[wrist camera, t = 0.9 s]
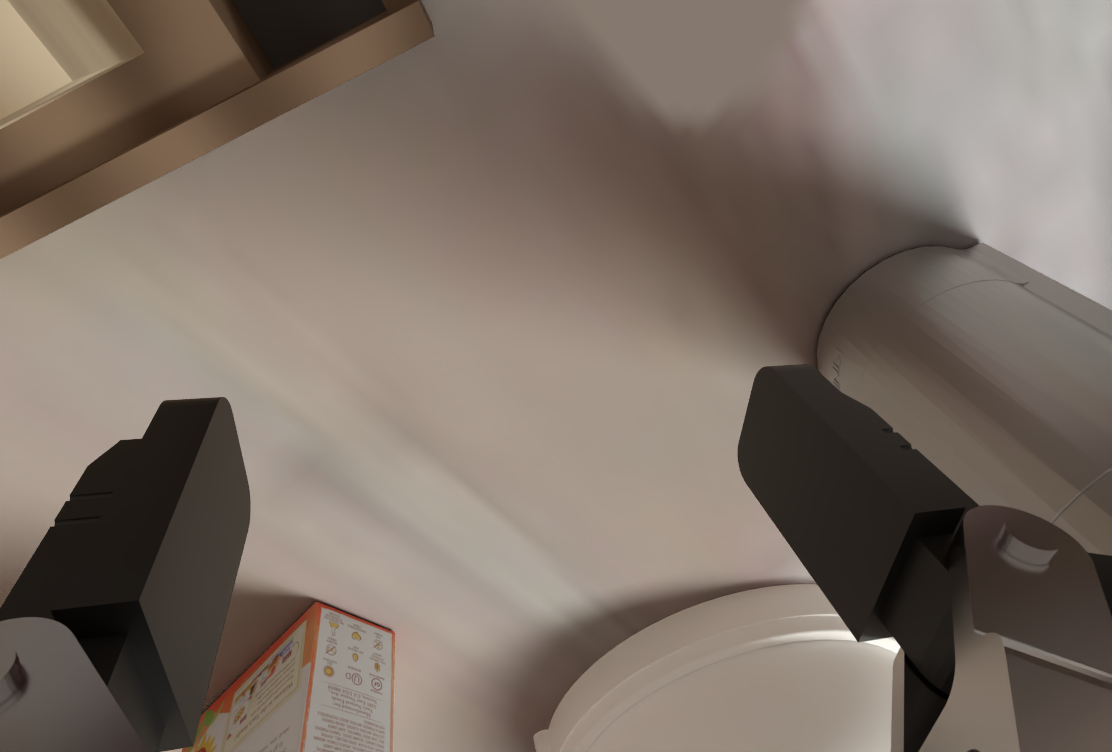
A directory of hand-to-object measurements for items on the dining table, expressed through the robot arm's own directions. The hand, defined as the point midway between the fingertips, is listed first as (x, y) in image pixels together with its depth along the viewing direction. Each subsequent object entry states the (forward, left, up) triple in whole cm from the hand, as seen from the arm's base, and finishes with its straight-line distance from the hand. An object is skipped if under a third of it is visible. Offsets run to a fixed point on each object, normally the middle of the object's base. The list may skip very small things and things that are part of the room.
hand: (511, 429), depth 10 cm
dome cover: (+1, +48, -19) cm, 52 cm away
